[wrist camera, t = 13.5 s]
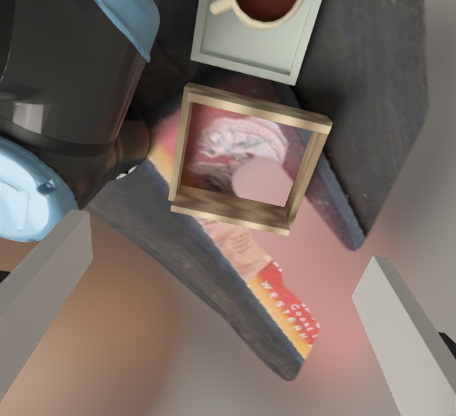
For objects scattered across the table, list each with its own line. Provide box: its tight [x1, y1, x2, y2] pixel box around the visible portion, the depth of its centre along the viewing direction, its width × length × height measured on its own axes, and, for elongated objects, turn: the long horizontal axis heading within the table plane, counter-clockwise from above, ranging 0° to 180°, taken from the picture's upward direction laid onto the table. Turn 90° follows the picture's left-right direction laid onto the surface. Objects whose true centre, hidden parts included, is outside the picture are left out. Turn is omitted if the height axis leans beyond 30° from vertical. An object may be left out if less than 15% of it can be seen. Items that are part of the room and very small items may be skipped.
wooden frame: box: [168, 82, 333, 236], centre depth 44 cm, size 20×17×7 cm
